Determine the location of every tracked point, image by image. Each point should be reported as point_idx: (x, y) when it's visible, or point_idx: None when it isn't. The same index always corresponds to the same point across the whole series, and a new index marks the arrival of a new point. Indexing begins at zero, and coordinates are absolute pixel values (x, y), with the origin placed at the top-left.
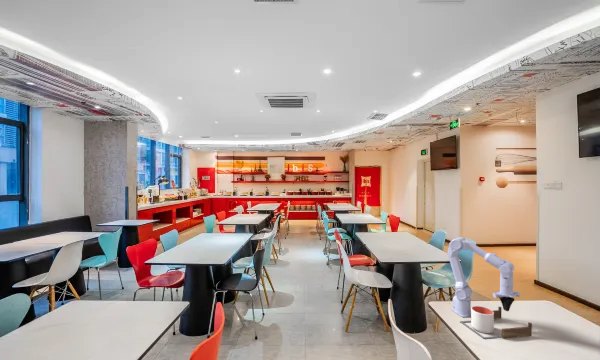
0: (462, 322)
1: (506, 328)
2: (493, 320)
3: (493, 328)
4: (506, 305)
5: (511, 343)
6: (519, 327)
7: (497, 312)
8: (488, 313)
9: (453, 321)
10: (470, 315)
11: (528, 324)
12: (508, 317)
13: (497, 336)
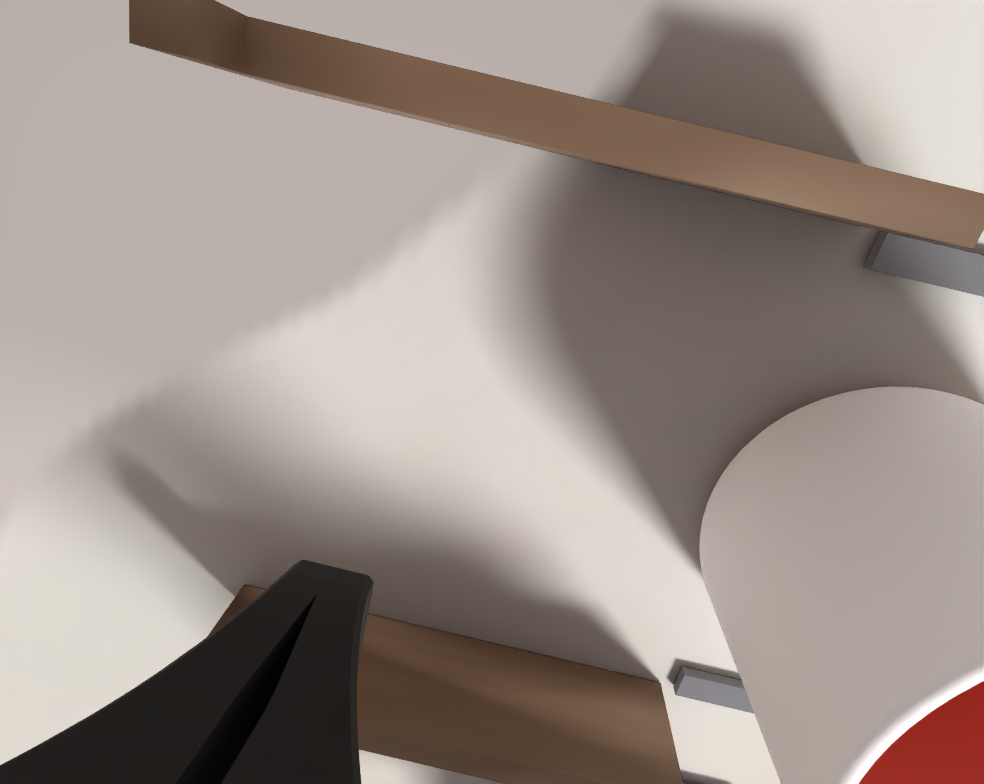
0: None
1: (861, 212)
2: (956, 492)
3: (844, 413)
4: (357, 736)
5: (940, 10)
6: (505, 121)
7: None
8: (784, 703)
9: None
10: None
11: (215, 55)
12: (103, 569)
13: (931, 265)
